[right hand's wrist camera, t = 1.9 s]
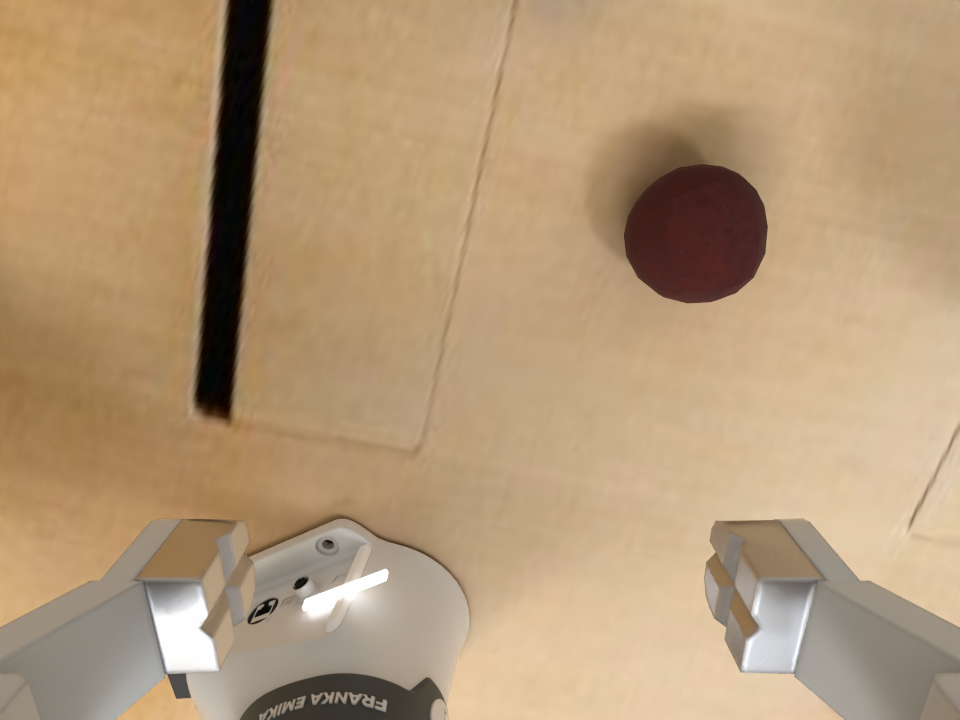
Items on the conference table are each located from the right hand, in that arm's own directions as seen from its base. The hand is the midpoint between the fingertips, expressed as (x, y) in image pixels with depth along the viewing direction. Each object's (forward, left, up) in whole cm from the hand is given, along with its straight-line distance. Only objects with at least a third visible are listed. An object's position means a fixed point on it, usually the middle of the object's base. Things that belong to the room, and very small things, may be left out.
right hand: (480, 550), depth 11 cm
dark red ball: (+12, -2, -29) cm, 31 cm away
